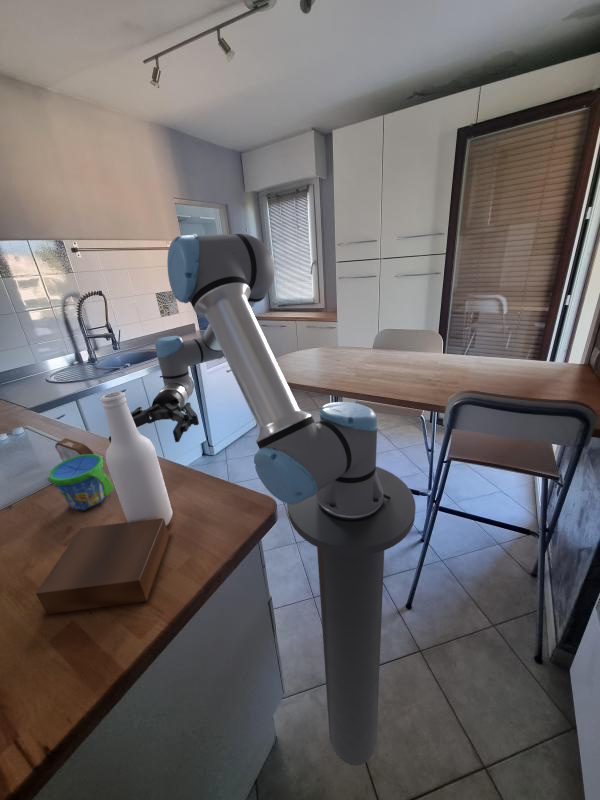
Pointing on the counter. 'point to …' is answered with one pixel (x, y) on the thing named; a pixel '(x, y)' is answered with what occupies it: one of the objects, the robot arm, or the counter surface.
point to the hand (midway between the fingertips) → (144, 440)
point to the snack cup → (81, 481)
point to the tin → (71, 449)
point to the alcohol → (134, 465)
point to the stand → (106, 567)
